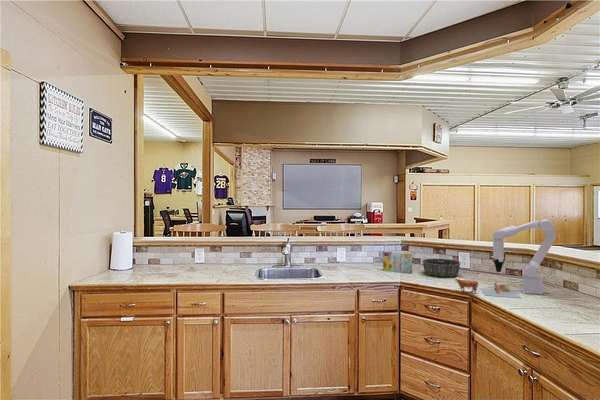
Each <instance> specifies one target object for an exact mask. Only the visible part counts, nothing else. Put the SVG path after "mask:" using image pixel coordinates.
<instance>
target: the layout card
mask: <svg viewBox="0 0 600 400" xmlns="http://www.w3.org/2000/svg"><path fill="white" fill-rule="evenodd" d="M480 290H481V292H482V294H484V296H486V297H499V298H513V299H522V296H520V294H518V293H517V292H516V291H515V290H510V289H509V292H502V291H499V293H497V292H496V291H495V288H494V289H492V288H491V289H490V288H480Z"/></svg>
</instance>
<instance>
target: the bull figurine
mask: <svg viewBox="0 0 600 400" xmlns="http://www.w3.org/2000/svg"><path fill="white" fill-rule="evenodd" d="M453 281H454V282H455V283H457V285H458V286H459V288H460V290H459V291H458V292H459V293H461V292H465V291H466V290H465V288H467V289H468V290H470V289H471V288H472V290H470V293H473V295H474V294H476V293H477V288H478V286H479V282H478V281H477V280H467V279H464V278H461V277H460V278H459V277H458V276H457V277H456V278H454V280H453Z"/></svg>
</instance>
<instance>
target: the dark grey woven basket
mask: <svg viewBox="0 0 600 400" xmlns="http://www.w3.org/2000/svg"><path fill="white" fill-rule="evenodd" d="M421 262H422V265H423V269H424V272H425V273H426V274H427V275H429V276H433V277H435V278H437V277H440V278H443V277H444V278H451V277H456V276H457V275H458V274H459V272H460V267H461V264H462V262H461V261H460V260H459V261H458V260H456V259H450V258H435V257H433V258H426V259H422V261H421Z"/></svg>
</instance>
